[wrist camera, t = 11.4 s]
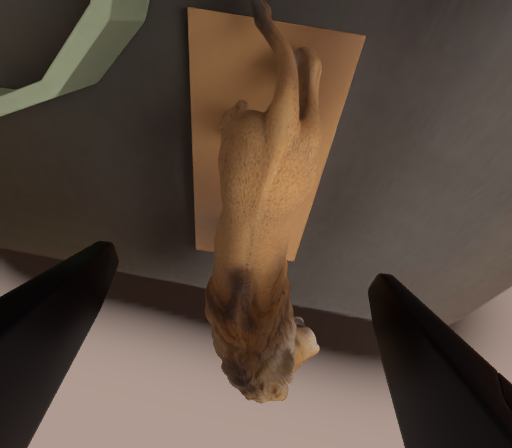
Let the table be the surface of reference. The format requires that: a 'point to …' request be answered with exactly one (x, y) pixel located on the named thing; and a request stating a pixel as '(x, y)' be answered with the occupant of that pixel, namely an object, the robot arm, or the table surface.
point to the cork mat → (254, 98)
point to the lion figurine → (264, 223)
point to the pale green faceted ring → (82, 53)
